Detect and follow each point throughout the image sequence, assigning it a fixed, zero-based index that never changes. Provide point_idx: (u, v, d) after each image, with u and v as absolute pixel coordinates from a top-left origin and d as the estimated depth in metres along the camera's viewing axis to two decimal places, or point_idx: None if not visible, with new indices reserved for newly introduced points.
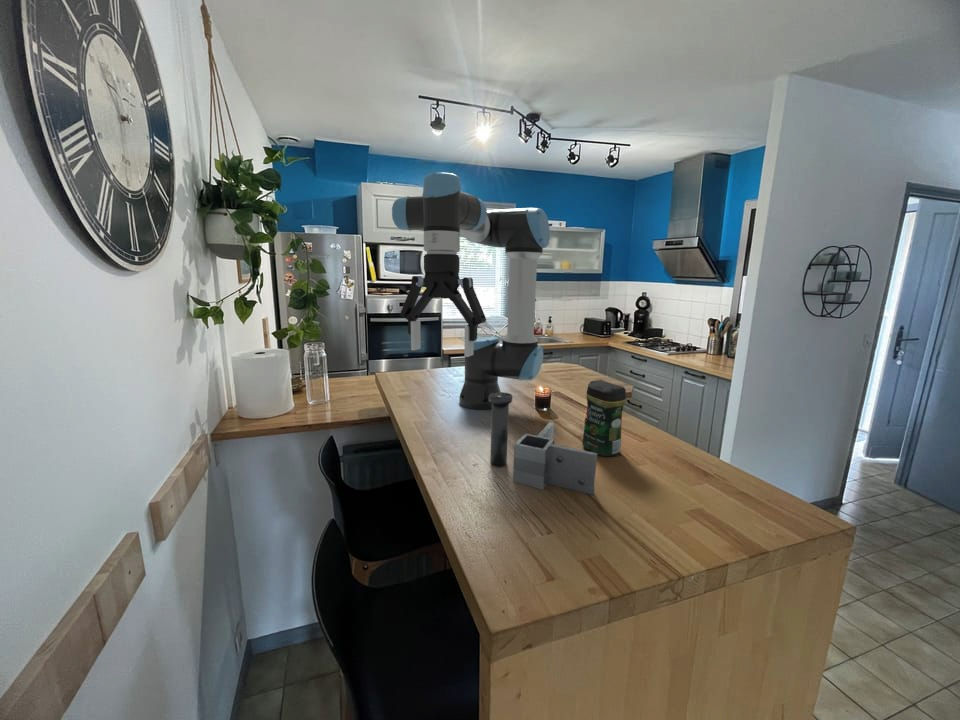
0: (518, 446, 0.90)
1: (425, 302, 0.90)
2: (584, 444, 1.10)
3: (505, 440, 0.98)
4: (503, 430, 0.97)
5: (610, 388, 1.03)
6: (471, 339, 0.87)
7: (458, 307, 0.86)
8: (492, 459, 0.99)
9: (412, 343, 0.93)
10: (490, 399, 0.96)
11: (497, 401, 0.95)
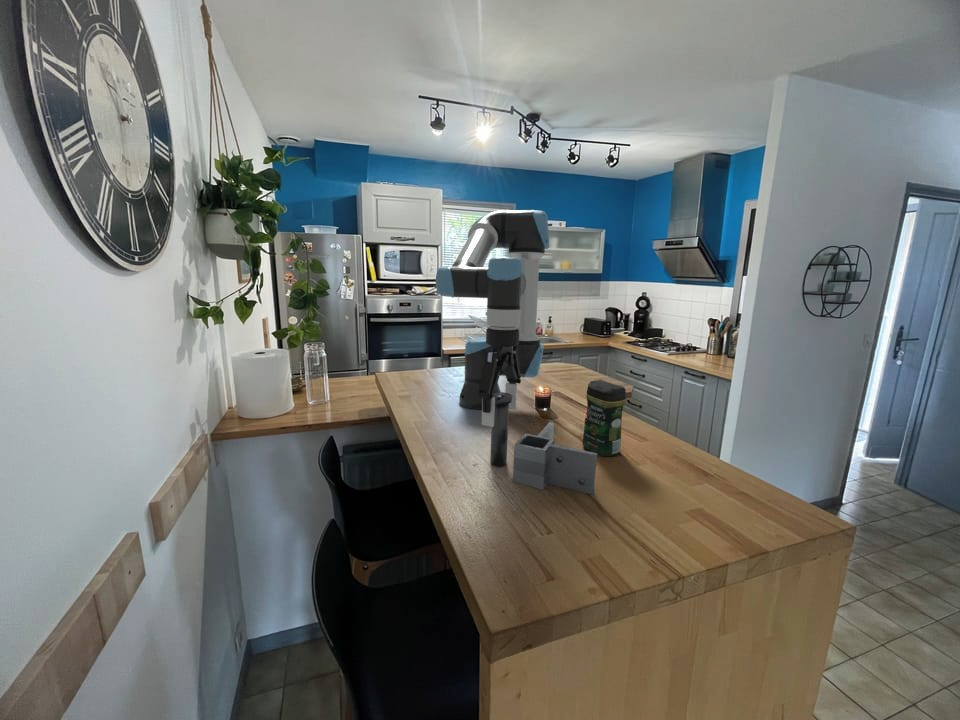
0: (518, 446, 0.90)
1: (506, 368, 0.99)
2: (584, 444, 1.10)
3: (505, 440, 0.98)
4: (503, 430, 0.97)
5: (610, 388, 1.03)
6: None
7: None
8: (492, 459, 0.99)
9: None
10: None
11: (497, 401, 0.95)
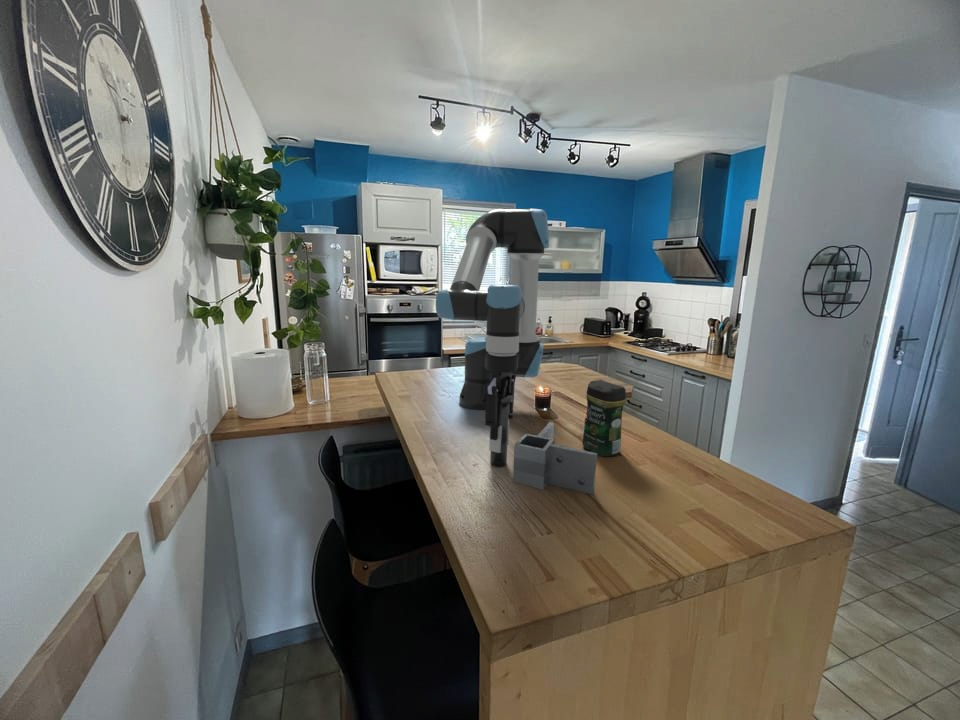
0: (518, 446, 0.90)
1: None
2: (584, 444, 1.10)
3: (505, 440, 0.98)
4: (503, 430, 0.97)
5: (610, 388, 1.03)
6: None
7: None
8: (492, 459, 0.99)
9: None
10: None
11: None
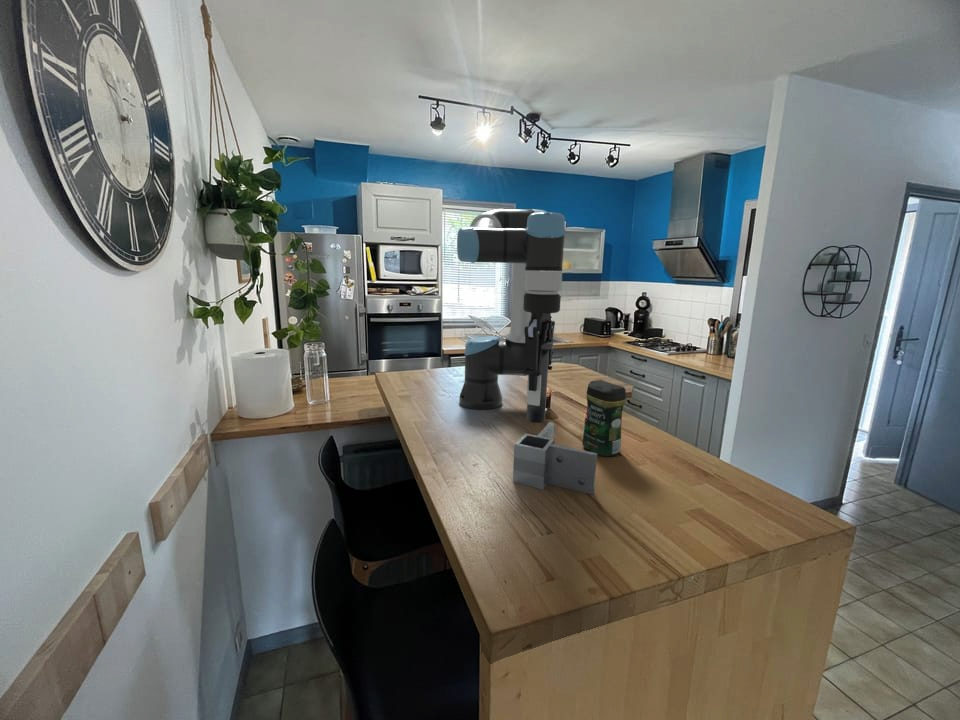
0: (518, 446, 0.90)
1: None
2: (584, 444, 1.10)
3: (544, 392, 0.88)
4: (542, 381, 0.87)
5: (610, 388, 1.03)
6: None
7: None
8: (529, 414, 0.89)
9: None
10: None
11: None
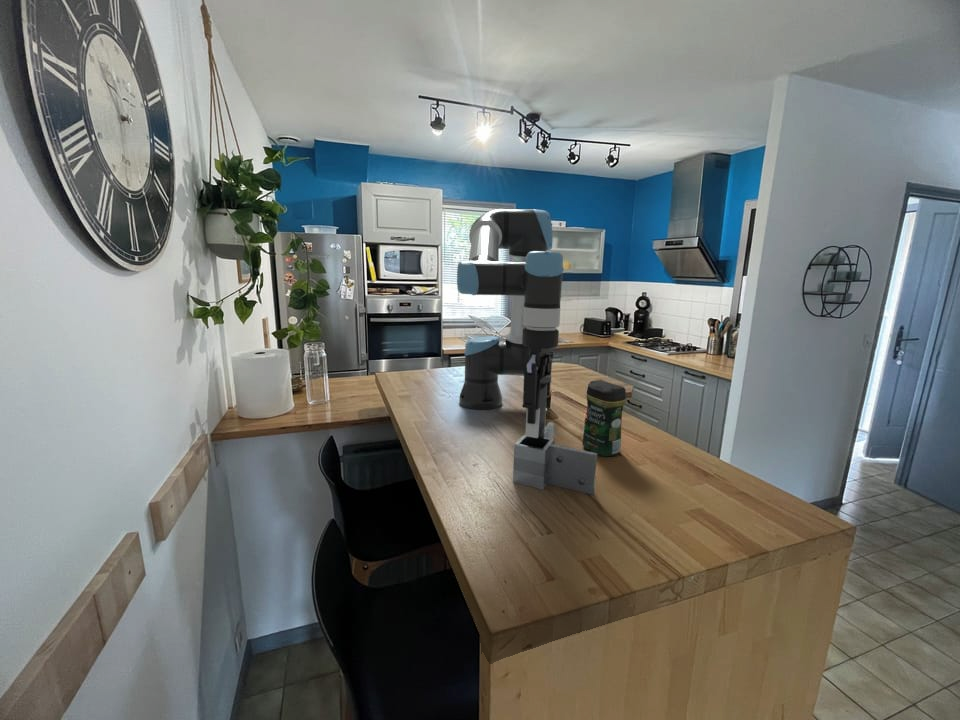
0: (518, 446, 0.90)
1: None
2: (584, 444, 1.10)
3: (543, 424, 0.89)
4: (541, 413, 0.88)
5: (610, 388, 1.03)
6: None
7: None
8: (528, 445, 0.91)
9: None
10: None
11: None
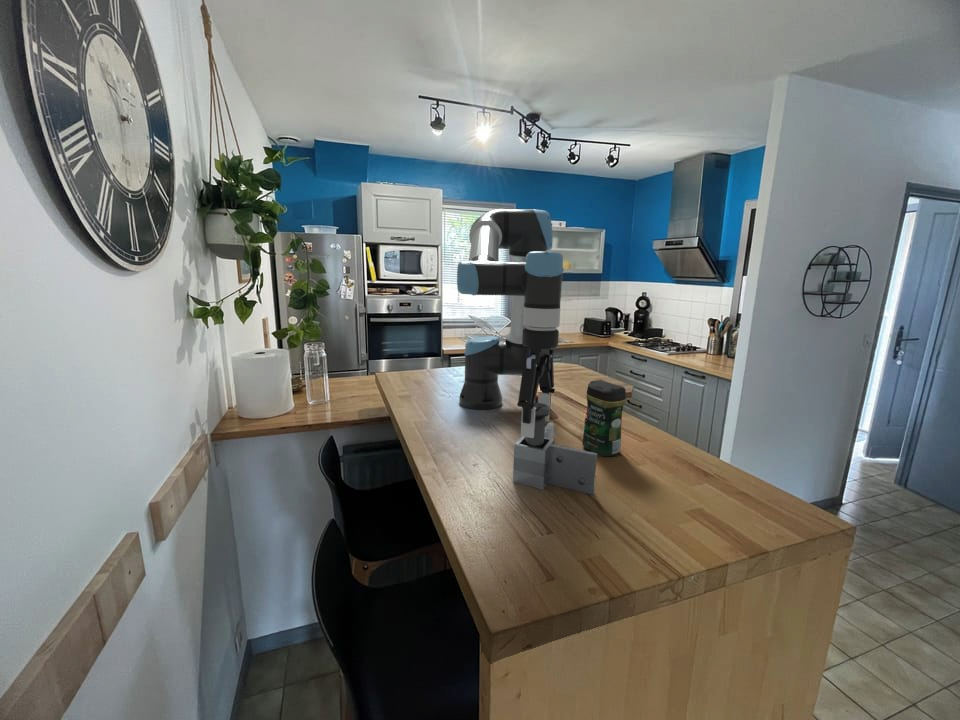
0: (518, 446, 0.90)
1: None
2: (584, 444, 1.10)
3: None
4: (539, 444, 0.90)
5: (610, 388, 1.03)
6: None
7: None
8: None
9: None
10: None
11: None
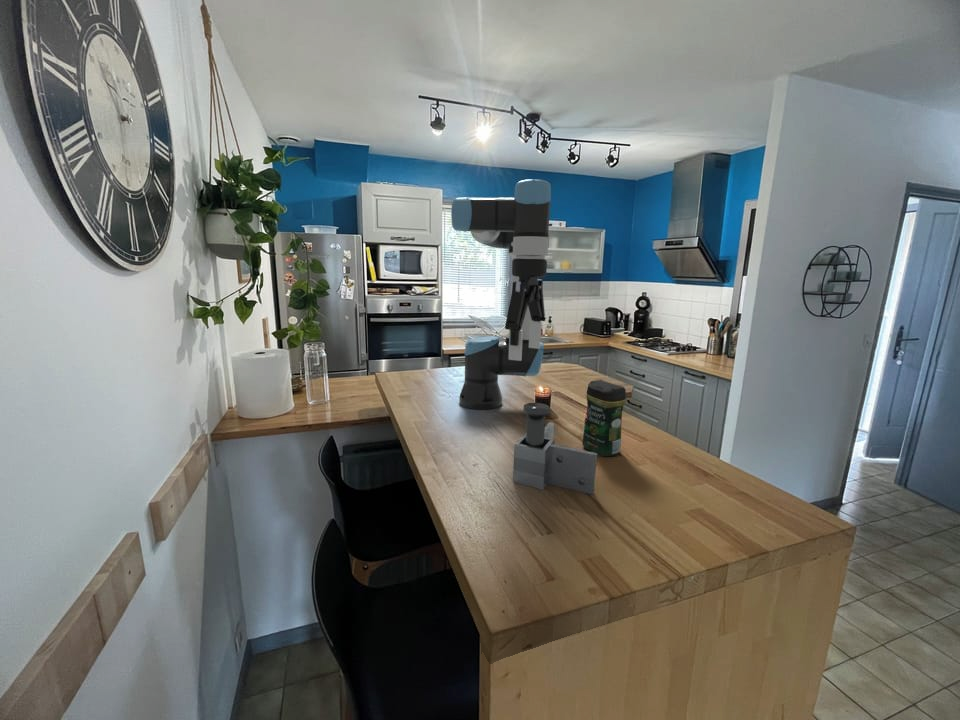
0: (518, 446, 0.90)
1: (531, 304, 0.95)
2: (584, 444, 1.10)
3: None
4: (539, 444, 0.90)
5: (610, 388, 1.03)
6: None
7: None
8: None
9: None
10: (526, 411, 0.89)
11: (534, 413, 0.87)
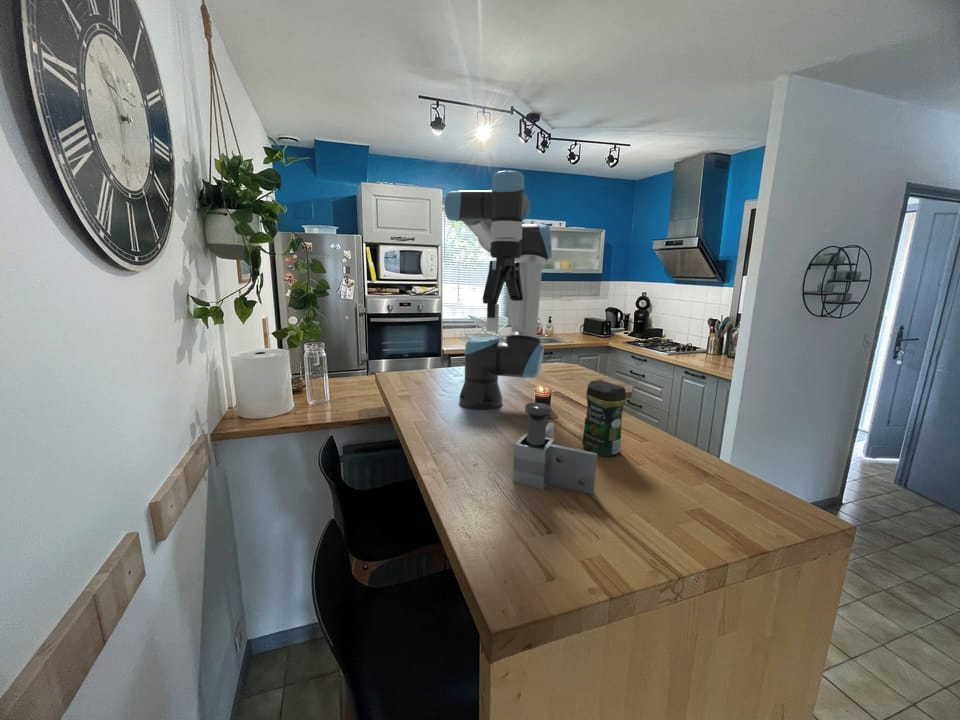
0: (518, 446, 0.90)
1: (509, 284, 1.06)
2: (584, 444, 1.10)
3: None
4: (540, 444, 0.90)
5: (610, 388, 1.03)
6: None
7: None
8: None
9: None
10: (527, 411, 0.88)
11: (536, 413, 0.87)
